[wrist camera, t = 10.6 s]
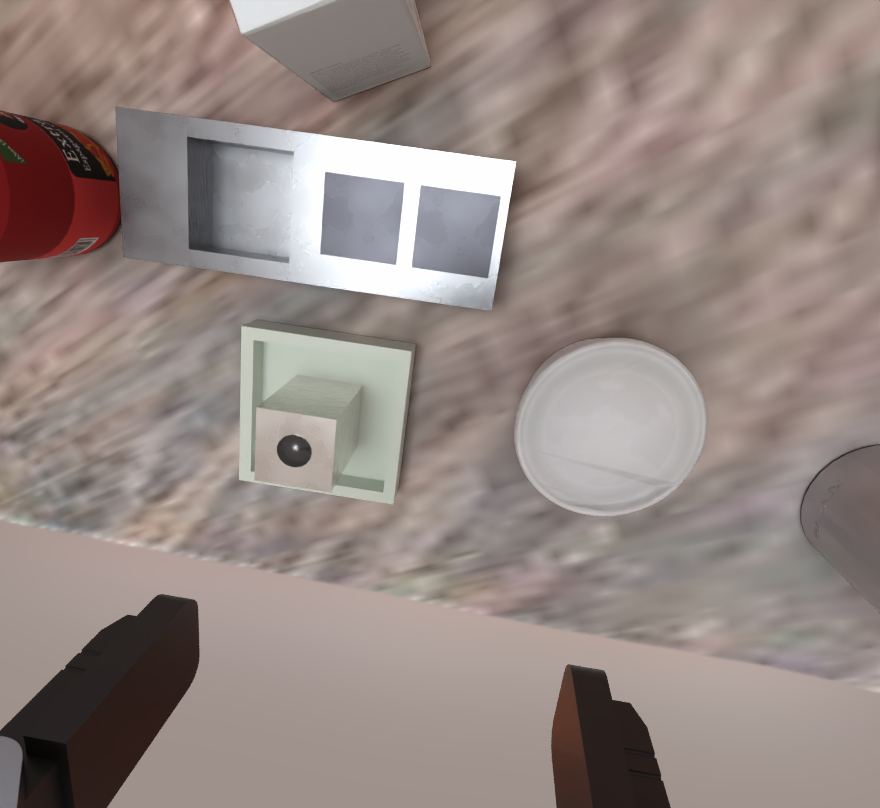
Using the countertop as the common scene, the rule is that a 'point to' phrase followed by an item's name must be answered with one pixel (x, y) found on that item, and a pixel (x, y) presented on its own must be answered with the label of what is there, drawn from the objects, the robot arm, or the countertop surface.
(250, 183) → the grey compartment tray
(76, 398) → the countertop surface
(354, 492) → the parts tray
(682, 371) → the ramekin
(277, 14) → the small box
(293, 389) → the cube with dark knob
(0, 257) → the canned food
